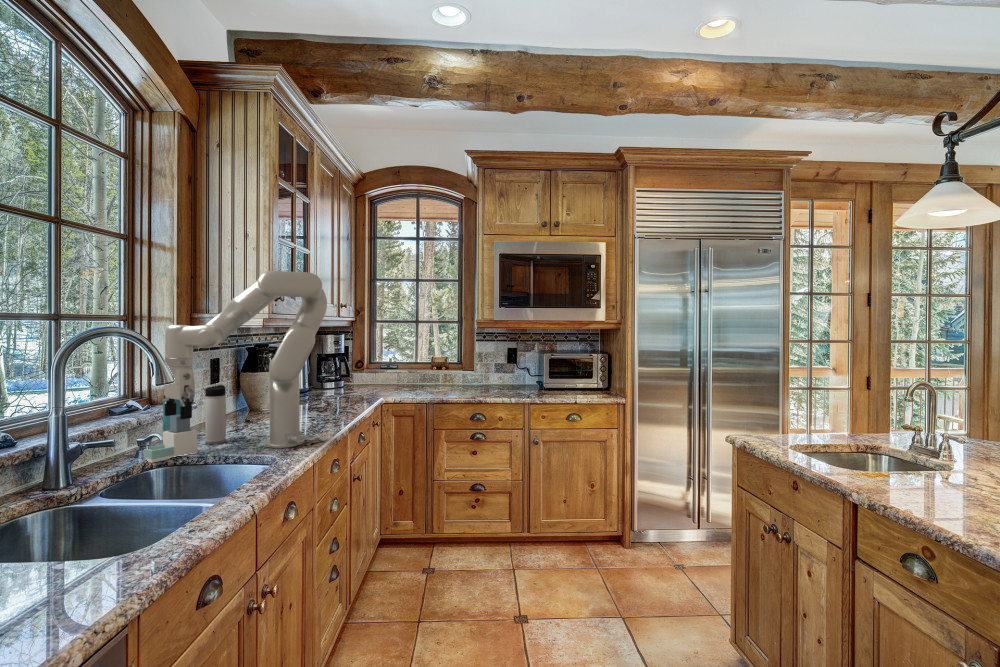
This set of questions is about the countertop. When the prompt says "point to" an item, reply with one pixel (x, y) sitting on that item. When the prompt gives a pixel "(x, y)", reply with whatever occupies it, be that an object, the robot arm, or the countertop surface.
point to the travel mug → (215, 415)
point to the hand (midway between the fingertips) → (178, 417)
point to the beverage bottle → (167, 418)
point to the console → (172, 446)
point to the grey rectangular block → (179, 424)
